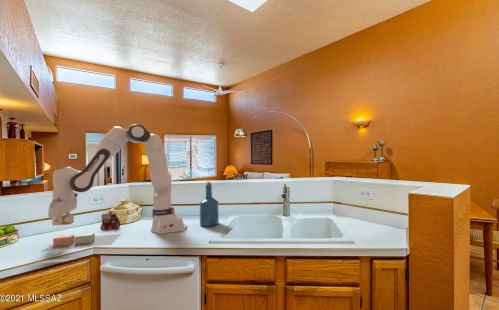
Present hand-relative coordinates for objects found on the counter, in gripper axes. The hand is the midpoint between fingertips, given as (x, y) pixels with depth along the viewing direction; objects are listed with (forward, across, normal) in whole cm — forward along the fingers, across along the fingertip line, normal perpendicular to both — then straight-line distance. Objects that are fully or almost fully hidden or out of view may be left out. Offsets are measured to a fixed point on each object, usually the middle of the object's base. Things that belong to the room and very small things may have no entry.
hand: (63, 221), depth 122 cm
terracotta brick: (+12, 0, 0) cm, 12 cm away
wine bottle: (+13, +16, -80) cm, 83 cm away
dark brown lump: (+14, +24, -15) cm, 31 cm away
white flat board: (+13, 0, -10) cm, 17 cm away
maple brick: (+1, 0, 0) cm, 1 cm away
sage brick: (+12, 0, -10) cm, 16 cm away
